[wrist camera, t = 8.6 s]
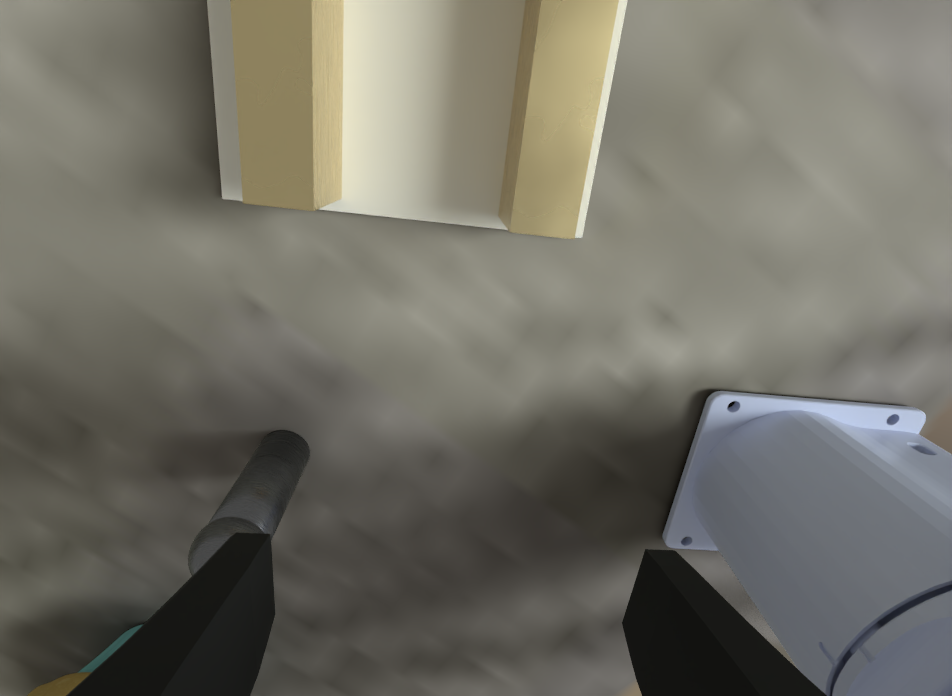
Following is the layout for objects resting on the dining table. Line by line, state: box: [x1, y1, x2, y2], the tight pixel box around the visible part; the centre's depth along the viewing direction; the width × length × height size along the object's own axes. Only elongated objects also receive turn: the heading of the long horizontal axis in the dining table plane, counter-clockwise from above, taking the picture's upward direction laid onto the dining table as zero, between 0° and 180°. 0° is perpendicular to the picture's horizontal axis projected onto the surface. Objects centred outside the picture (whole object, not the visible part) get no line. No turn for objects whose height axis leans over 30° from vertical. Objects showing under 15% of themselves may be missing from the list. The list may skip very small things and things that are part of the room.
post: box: [188, 430, 310, 576], centre depth 17 cm, size 2×2×7 cm
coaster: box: [207, 0, 627, 238], centre depth 14 cm, size 12×12×1 cm
